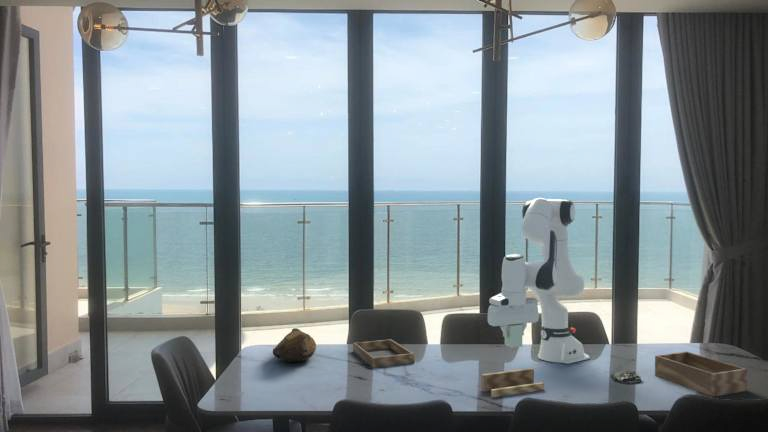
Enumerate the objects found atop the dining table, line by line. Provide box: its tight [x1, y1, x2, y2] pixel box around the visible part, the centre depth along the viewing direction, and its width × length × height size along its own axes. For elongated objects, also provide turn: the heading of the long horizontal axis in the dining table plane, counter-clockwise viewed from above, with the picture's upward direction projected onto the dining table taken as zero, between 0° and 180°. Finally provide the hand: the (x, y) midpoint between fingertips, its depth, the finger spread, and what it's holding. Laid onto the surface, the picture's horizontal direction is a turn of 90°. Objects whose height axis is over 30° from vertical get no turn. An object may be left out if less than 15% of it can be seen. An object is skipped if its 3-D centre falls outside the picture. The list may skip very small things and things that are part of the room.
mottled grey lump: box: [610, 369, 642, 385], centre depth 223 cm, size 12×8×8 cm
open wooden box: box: [654, 351, 748, 397], centre depth 219 cm, size 17×26×8 cm, turn 21°
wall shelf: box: [480, 367, 545, 398], centre depth 211 cm, size 22×8×6 cm, turn 111°
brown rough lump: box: [272, 327, 317, 363], centre depth 252 cm, size 37×18×15 cm, turn 175°
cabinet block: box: [504, 324, 523, 349], centre depth 210 cm, size 5×4×10 cm
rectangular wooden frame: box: [352, 338, 415, 368], centre depth 256 cm, size 19×27×4 cm
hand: (513, 336), depth 210 cm, fingers closed on cabinet block, 5 cm apart
